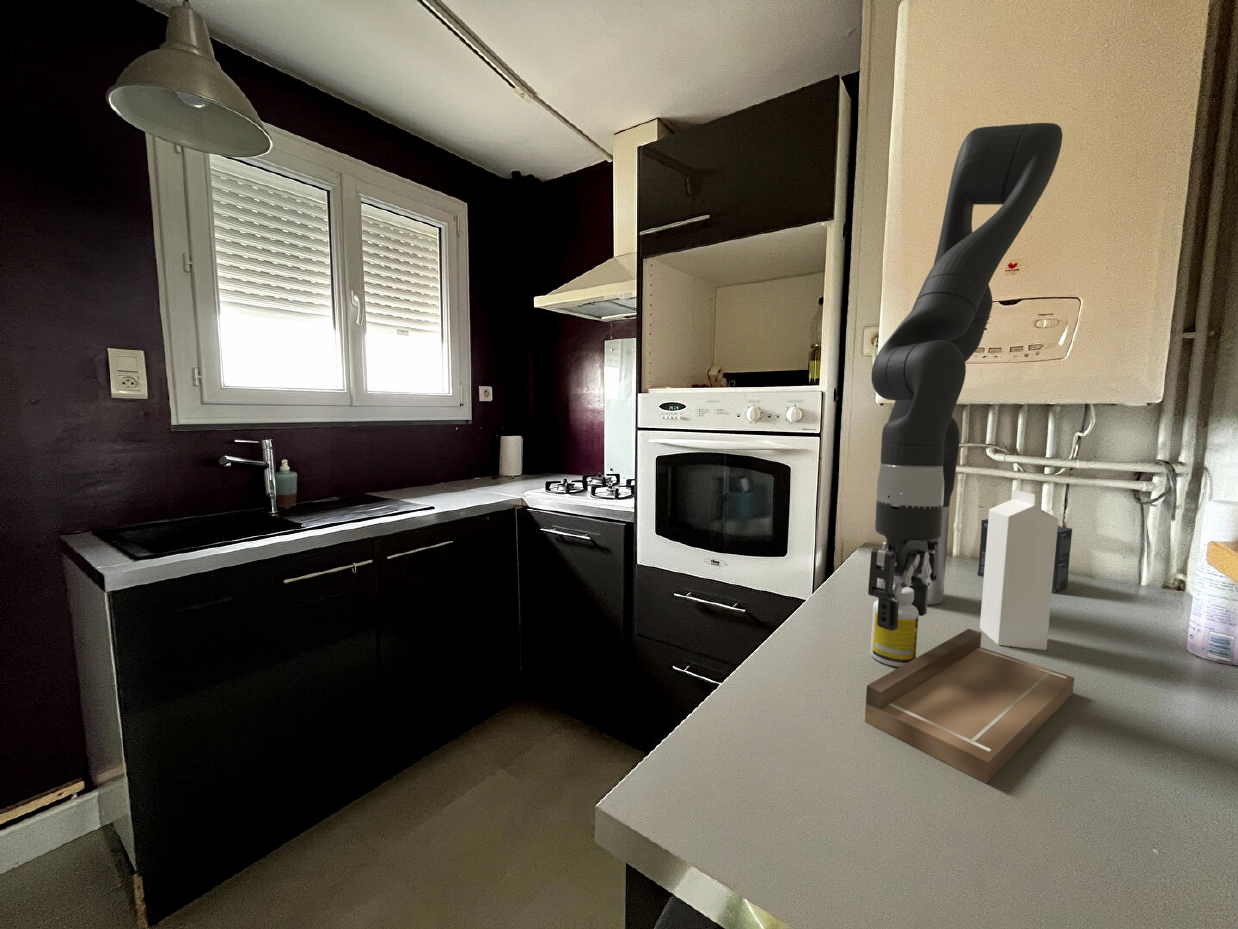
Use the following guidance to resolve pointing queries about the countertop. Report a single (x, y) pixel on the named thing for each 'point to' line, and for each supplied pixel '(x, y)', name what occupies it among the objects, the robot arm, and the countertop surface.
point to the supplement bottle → (896, 633)
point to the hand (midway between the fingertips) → (902, 621)
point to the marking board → (966, 704)
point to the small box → (1060, 555)
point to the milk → (1018, 573)
